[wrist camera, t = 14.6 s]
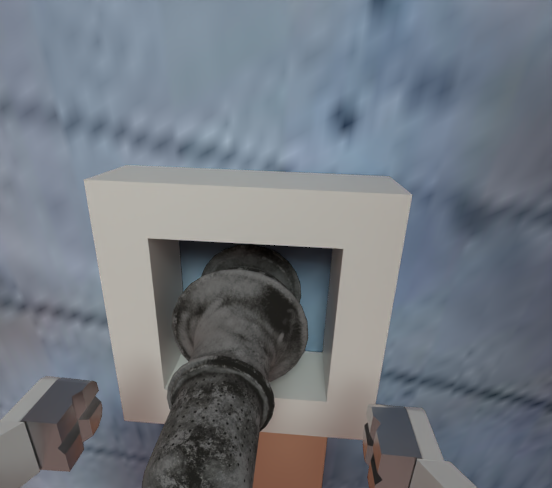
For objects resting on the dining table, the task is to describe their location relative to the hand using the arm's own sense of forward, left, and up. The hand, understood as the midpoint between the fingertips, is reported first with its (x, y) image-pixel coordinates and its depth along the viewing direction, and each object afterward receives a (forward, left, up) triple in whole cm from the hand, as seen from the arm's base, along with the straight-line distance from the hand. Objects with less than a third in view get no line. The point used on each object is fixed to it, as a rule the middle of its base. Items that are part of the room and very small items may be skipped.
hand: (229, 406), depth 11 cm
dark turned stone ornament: (+1, +1, -8) cm, 8 cm away
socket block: (0, 0, -8) cm, 8 cm away
